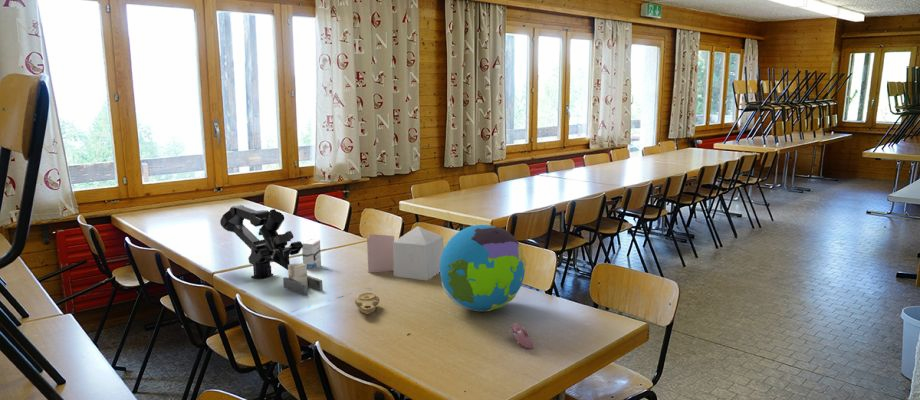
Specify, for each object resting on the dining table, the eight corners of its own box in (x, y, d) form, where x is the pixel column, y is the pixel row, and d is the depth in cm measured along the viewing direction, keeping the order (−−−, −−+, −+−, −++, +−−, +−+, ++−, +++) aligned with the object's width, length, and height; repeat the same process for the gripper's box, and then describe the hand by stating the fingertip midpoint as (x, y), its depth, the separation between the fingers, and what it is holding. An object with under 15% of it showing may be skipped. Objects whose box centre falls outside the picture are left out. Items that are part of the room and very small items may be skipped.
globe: (469, 332, 195) (469, 241, 189) (424, 305, 220) (422, 223, 214) (542, 314, 210) (544, 228, 205) (492, 290, 235) (492, 213, 230)
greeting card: (395, 269, 263) (395, 235, 260) (388, 274, 256) (387, 239, 253) (372, 267, 266) (370, 233, 263) (363, 272, 259) (362, 237, 257)
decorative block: (393, 276, 253) (392, 229, 250) (410, 266, 268) (409, 221, 264) (428, 280, 247) (427, 232, 244) (444, 269, 262) (443, 224, 258)
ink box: (313, 270, 262) (312, 244, 260) (302, 270, 263) (301, 243, 260) (321, 265, 270) (320, 239, 268) (311, 264, 271) (309, 238, 269)
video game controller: (516, 341, 192) (506, 322, 191) (528, 334, 192) (519, 316, 191) (522, 355, 182) (511, 335, 181) (535, 347, 182) (525, 328, 181)
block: (289, 287, 237) (287, 264, 235) (300, 284, 240) (299, 262, 239) (296, 290, 234) (295, 267, 232) (307, 286, 237) (306, 264, 236)
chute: (283, 290, 237) (283, 277, 236) (301, 285, 243) (300, 273, 242) (305, 298, 228) (304, 285, 227) (322, 292, 234) (322, 280, 233)
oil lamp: (365, 320, 206) (364, 306, 205) (344, 308, 217) (344, 295, 216) (392, 313, 213) (391, 299, 212) (371, 302, 224) (370, 289, 223)
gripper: (257, 229, 233) (274, 263, 228) (299, 221, 247) (316, 252, 242) (247, 246, 240) (264, 279, 235) (289, 237, 254) (306, 268, 248)
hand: (289, 269), depth 240 cm, fingers closed
